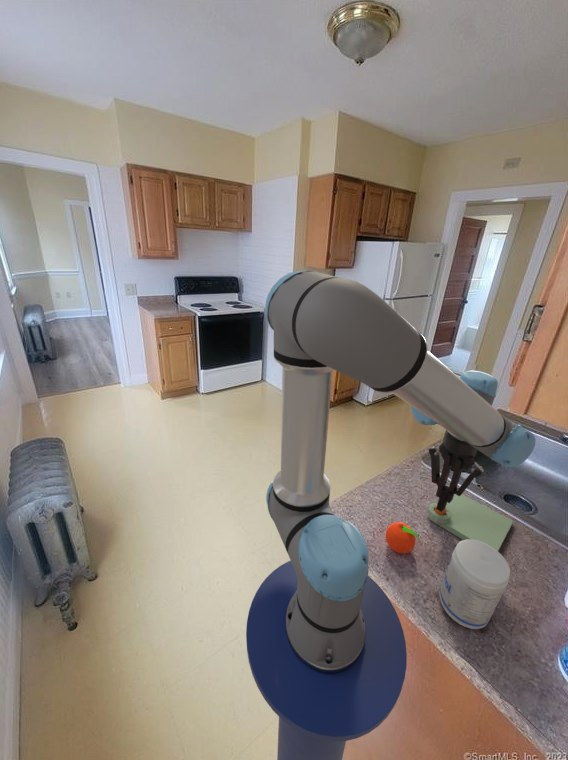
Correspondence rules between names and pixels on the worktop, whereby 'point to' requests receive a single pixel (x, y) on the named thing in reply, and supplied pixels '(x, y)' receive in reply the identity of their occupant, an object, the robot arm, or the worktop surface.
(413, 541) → the clementine
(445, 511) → the tare button
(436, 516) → the scale
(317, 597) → the robot arm
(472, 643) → the worktop surface
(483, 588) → the supplement tub
